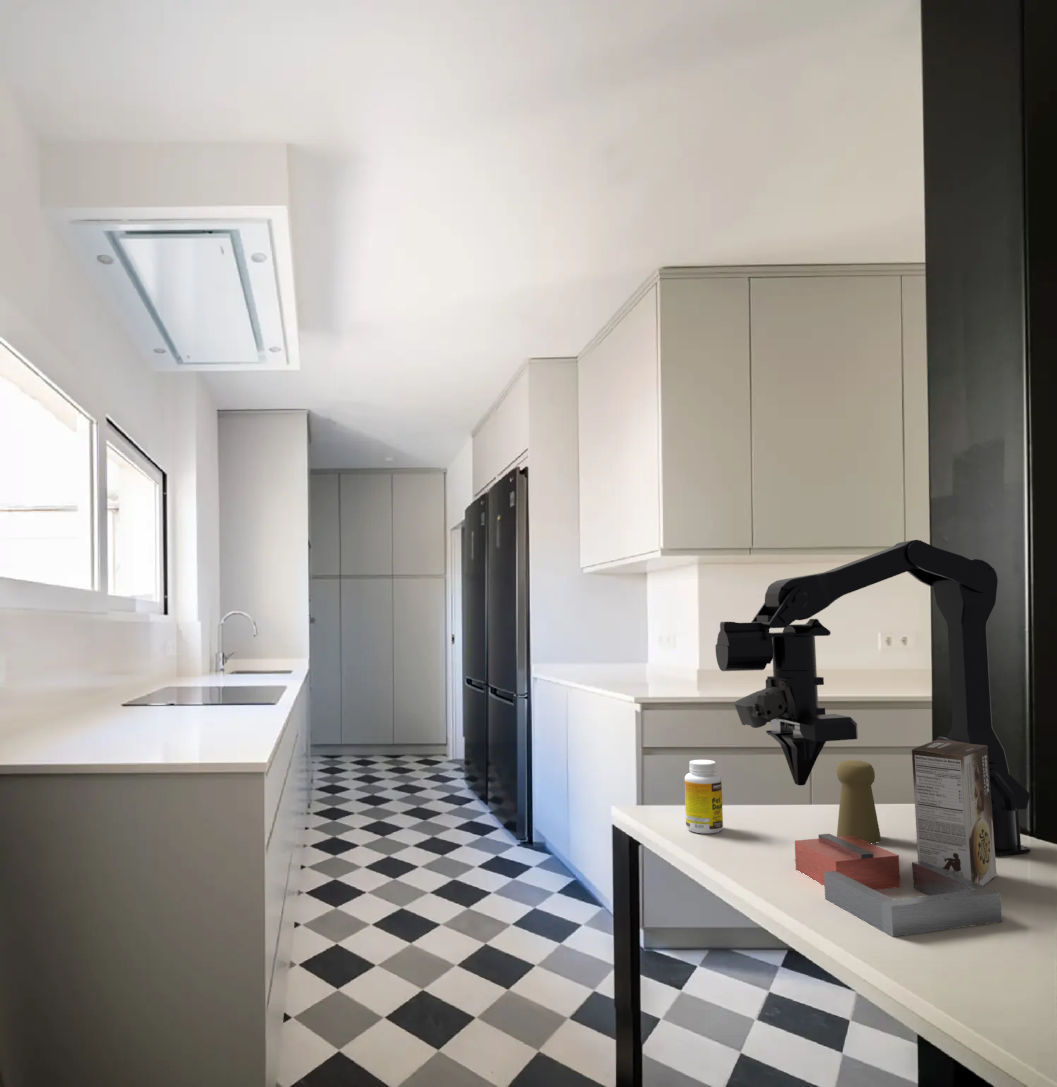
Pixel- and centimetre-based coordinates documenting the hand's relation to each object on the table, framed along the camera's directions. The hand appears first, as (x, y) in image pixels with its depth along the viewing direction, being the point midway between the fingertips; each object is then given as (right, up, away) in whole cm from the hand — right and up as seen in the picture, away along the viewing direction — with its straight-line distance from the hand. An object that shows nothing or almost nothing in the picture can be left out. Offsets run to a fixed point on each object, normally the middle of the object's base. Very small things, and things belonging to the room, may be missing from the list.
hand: (800, 784), depth 111 cm
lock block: (+2, -9, -10) cm, 14 cm away
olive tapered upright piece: (+11, -10, +7) cm, 17 cm away
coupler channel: (+5, -8, -20) cm, 22 cm away
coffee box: (+16, -9, -11) cm, 21 cm away
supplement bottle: (-10, -11, +13) cm, 20 cm away
